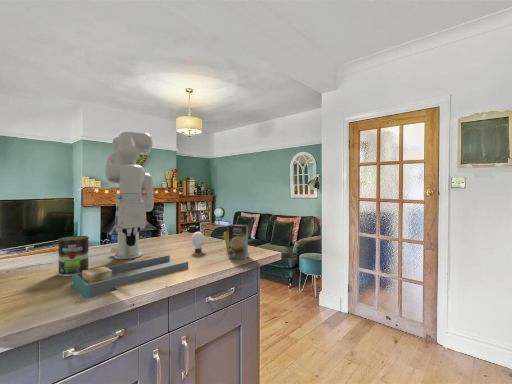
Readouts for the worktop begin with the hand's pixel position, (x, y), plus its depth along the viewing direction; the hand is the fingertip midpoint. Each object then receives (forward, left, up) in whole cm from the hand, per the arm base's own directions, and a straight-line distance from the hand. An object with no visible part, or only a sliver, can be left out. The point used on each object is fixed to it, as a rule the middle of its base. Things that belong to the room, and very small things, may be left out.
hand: (130, 245), depth 102 cm
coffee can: (-27, +4, -13) cm, 30 cm away
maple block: (-6, -11, -11) cm, 17 cm away
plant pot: (+31, +48, -13) cm, 59 cm away
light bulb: (+13, +42, -13) cm, 46 cm away
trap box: (+1, 0, -13) cm, 13 cm away
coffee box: (+36, +34, -13) cm, 51 cm away
